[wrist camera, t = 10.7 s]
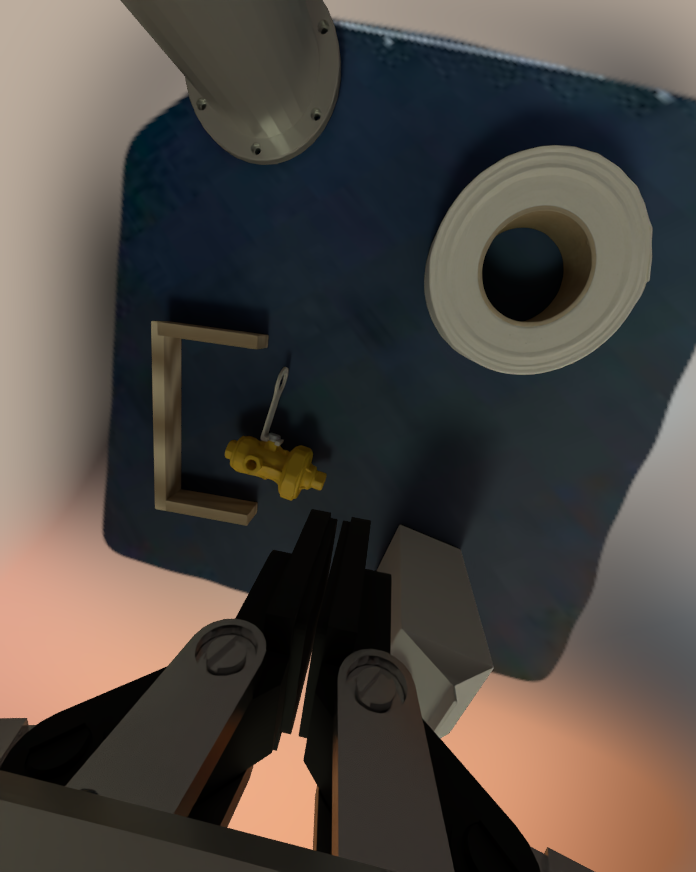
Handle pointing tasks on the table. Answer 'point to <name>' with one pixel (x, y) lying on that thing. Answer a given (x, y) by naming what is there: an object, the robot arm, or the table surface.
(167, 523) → the table surface
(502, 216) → the roll of tape
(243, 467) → the pressure relief valve
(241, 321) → the table surface
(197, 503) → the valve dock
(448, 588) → the milk carton
